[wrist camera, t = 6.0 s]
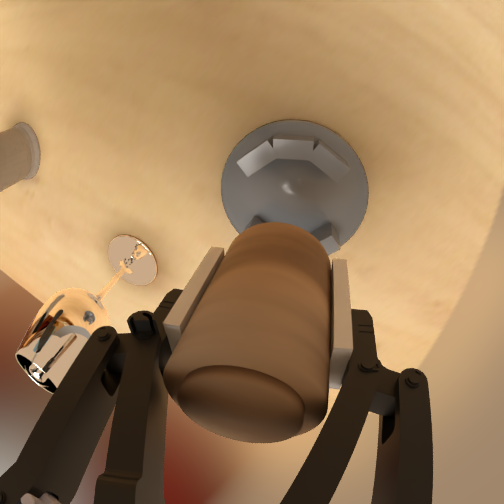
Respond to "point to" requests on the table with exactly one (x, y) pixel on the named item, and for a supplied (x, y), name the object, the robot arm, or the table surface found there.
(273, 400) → the stopper
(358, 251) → the table surface
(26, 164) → the glass holder
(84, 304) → the wineglass
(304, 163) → the grey round base
